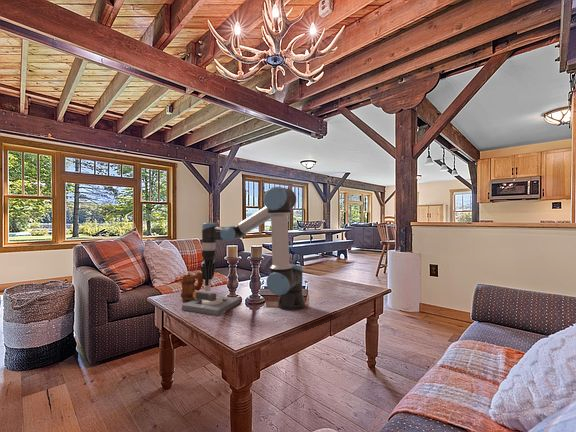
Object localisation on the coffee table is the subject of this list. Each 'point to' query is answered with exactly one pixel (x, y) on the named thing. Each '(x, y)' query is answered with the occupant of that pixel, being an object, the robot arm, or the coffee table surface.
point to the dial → (208, 298)
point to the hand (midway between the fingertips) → (207, 290)
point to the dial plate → (198, 307)
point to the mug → (190, 285)
